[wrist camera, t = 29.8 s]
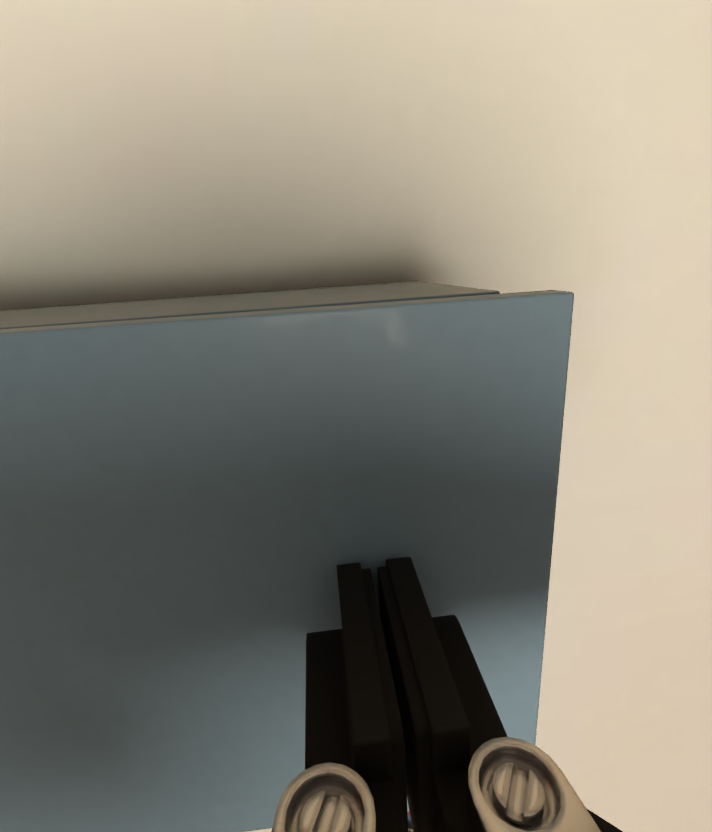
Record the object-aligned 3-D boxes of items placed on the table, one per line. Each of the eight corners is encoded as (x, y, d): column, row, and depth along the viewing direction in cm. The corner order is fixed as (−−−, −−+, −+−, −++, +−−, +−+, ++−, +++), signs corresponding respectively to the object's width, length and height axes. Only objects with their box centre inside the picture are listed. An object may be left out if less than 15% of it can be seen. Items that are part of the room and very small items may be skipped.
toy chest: (416, 281, 17) (501, 290, 10) (422, 581, 21) (484, 747, 14) (-99, 317, 16) (-463, 361, 8) (19, 631, 20) (-150, 844, 13)
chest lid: (554, 290, 9) (575, 292, 8) (519, 767, 13) (531, 797, 13) (-465, 362, 8) (-546, 371, 7) (-152, 847, 12) (-183, 884, 12)
